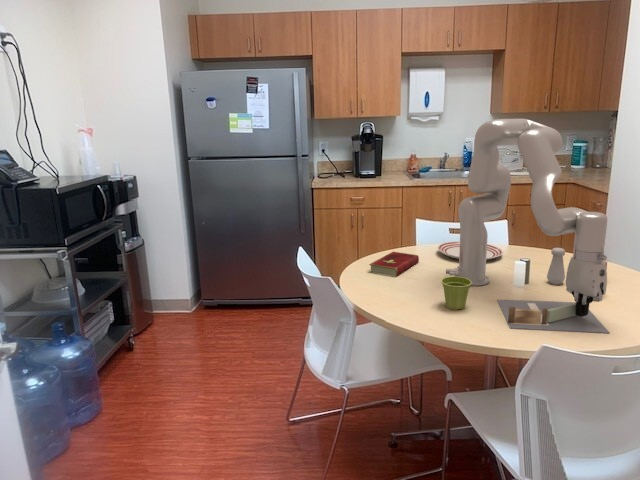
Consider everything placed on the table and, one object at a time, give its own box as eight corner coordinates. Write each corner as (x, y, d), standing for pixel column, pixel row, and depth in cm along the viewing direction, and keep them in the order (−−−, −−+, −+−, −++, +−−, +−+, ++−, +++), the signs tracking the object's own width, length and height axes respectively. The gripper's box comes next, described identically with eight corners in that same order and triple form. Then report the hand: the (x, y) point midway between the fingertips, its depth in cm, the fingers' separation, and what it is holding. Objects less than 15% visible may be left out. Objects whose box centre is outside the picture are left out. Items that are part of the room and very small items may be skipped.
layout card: (510, 328, 135) (510, 327, 135) (497, 300, 156) (497, 299, 156) (609, 333, 130) (609, 332, 130) (582, 303, 151) (582, 302, 151)
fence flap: (548, 322, 137) (550, 309, 136) (545, 321, 138) (546, 308, 137) (582, 313, 142) (584, 301, 141) (579, 312, 143) (580, 300, 142)
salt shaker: (566, 286, 166) (569, 250, 163) (548, 285, 167) (552, 250, 164) (561, 280, 172) (564, 246, 168) (544, 280, 173) (547, 246, 170)
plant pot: (466, 314, 146) (467, 288, 143) (436, 308, 150) (437, 283, 148) (473, 304, 153) (475, 279, 151) (445, 299, 158) (446, 274, 156)
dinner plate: (498, 248, 217) (498, 241, 216) (507, 266, 191) (507, 258, 190) (436, 246, 223) (437, 239, 222) (437, 263, 197) (437, 256, 196)
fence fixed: (508, 324, 138) (509, 308, 137) (507, 321, 140) (508, 306, 138) (546, 325, 136) (548, 310, 135) (545, 323, 138) (546, 308, 136)
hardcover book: (418, 264, 198) (418, 254, 197) (396, 278, 181) (396, 268, 180) (392, 260, 205) (393, 250, 204) (369, 273, 188) (369, 263, 187)
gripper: (622, 259, 129) (614, 321, 133) (573, 247, 142) (568, 304, 146) (603, 264, 126) (596, 327, 130) (556, 251, 139) (550, 309, 144)
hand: (581, 315), depth 138 cm, fingers closed
